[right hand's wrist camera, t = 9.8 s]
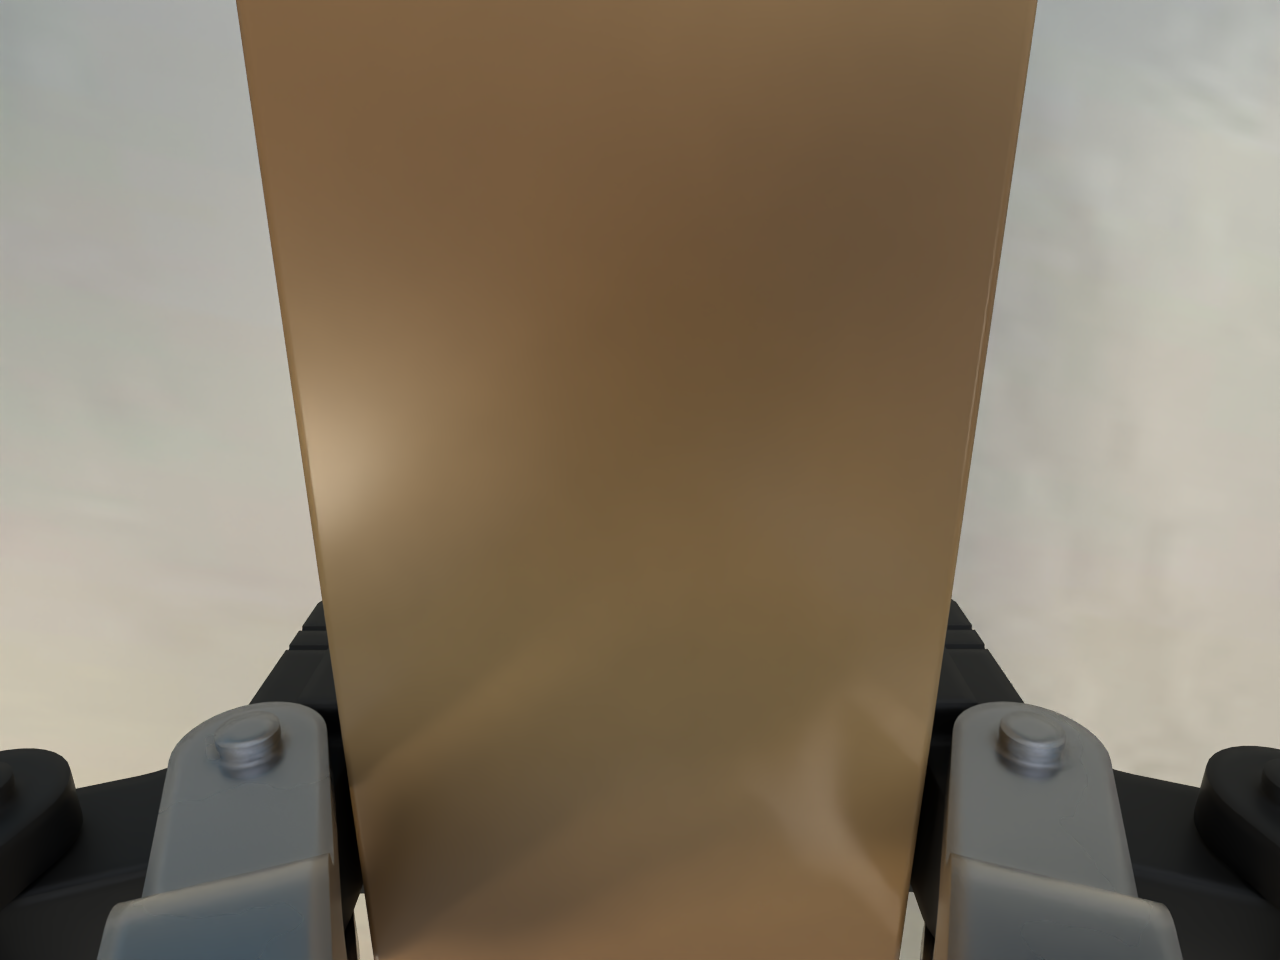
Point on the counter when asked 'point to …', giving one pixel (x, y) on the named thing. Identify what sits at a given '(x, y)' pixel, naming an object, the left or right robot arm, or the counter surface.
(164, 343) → the counter surface
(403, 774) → the beam
